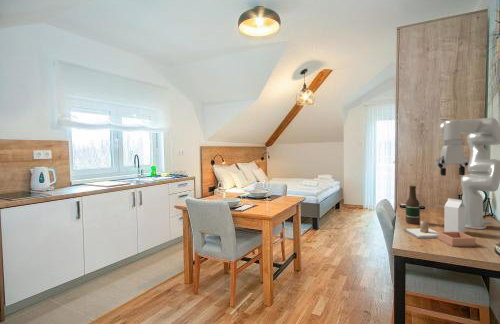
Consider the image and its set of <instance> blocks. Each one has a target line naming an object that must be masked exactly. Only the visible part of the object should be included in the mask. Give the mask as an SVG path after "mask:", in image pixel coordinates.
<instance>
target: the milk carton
mask: <svg viewBox="0 0 500 324" xmlns="http://www.w3.org/2000/svg"><path fill="white" fill-rule="evenodd" d="M443 232H462V233H464V234H466V227H465V205H464V204H463V199H457V198H456V199H455V198H449V197H448V198H447V201H446V202H445V204H444V231H443Z"/></svg>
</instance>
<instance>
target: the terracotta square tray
mask: <svg viewBox="0 0 500 324" xmlns="http://www.w3.org/2000/svg"><path fill="white" fill-rule="evenodd" d="M437 232H438V238H437V240H439V241H440V242H443V243H444V244H447V245H448V246H450V247H452V248H453V247H455V248H456V247H458V248H459V247H476V237H473V236H471V235H469V234H467V233H462V232H445V231H437Z"/></svg>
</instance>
